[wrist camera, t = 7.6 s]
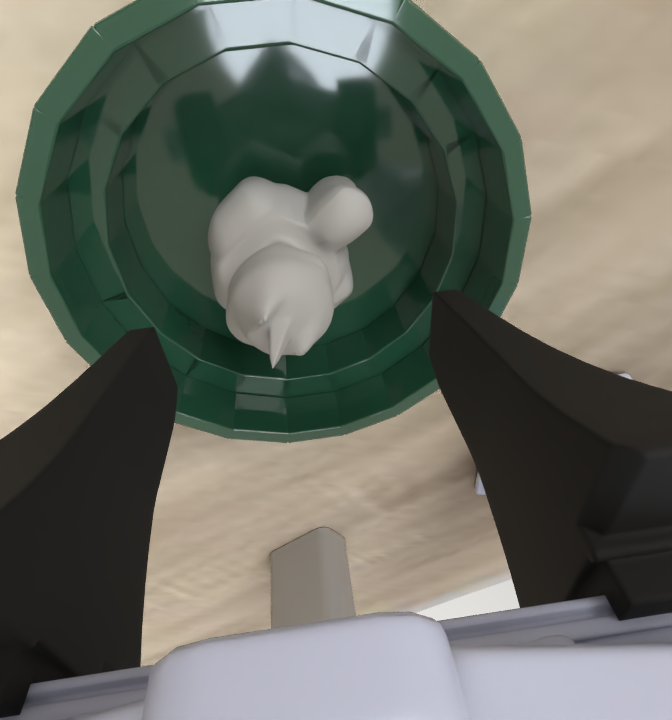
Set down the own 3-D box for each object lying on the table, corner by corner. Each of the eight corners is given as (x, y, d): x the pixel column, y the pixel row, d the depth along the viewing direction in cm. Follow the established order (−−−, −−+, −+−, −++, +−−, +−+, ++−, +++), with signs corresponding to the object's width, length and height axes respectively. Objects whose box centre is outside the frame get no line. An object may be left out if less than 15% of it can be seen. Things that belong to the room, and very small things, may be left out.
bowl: (455, 345, 24) (492, 415, 20) (156, 384, 23) (134, 465, 19) (500, -51, 14) (589, -67, 10) (-12, -3, 13) (-127, 0, 9)
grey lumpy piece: (176, 233, 18) (126, 364, 11) (299, 102, 15) (321, 177, 9) (278, 316, 21) (283, 457, 14) (394, 216, 18) (460, 332, 12)
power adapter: (349, 541, 34) (380, 746, 25) (292, 569, 36) (301, 772, 26) (324, 524, 32) (346, 739, 23) (266, 555, 34) (265, 767, 25)
